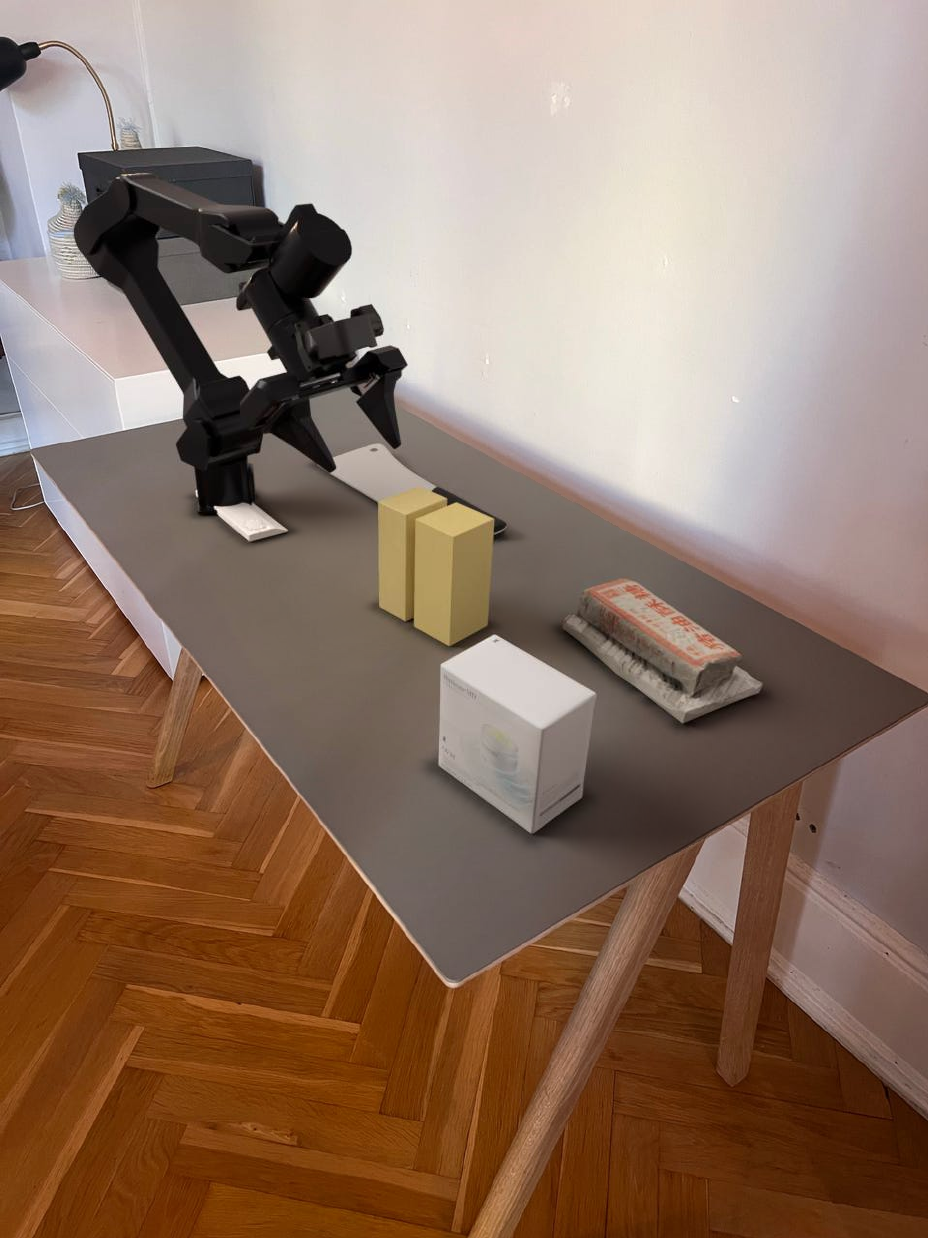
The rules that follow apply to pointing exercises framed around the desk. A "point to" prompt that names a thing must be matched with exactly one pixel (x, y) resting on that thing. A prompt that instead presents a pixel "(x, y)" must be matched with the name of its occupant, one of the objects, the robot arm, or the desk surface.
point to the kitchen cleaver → (390, 478)
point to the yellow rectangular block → (401, 547)
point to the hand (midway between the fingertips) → (366, 458)
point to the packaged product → (659, 650)
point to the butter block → (452, 572)
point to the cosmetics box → (514, 731)
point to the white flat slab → (249, 521)
